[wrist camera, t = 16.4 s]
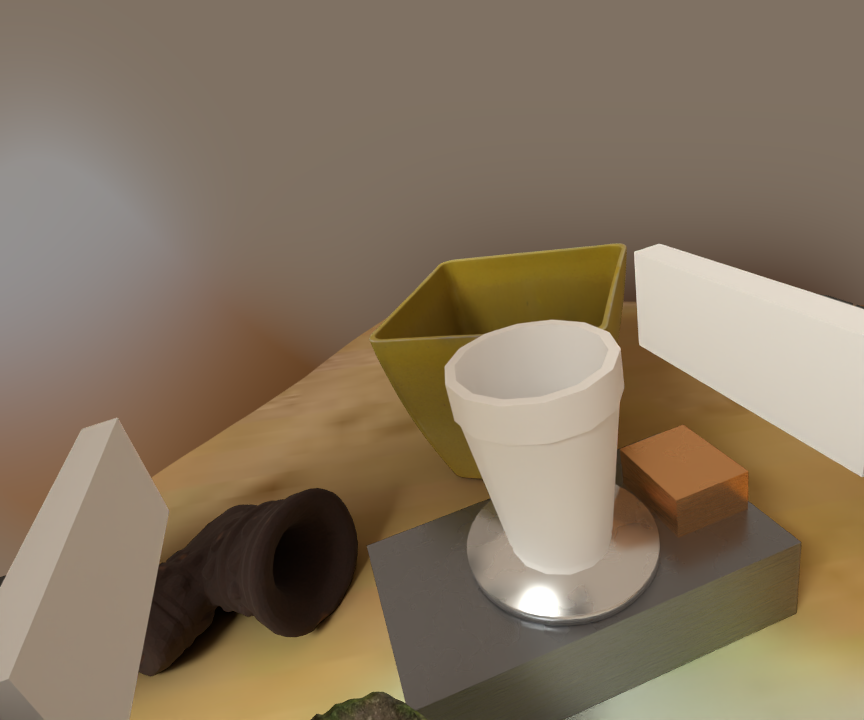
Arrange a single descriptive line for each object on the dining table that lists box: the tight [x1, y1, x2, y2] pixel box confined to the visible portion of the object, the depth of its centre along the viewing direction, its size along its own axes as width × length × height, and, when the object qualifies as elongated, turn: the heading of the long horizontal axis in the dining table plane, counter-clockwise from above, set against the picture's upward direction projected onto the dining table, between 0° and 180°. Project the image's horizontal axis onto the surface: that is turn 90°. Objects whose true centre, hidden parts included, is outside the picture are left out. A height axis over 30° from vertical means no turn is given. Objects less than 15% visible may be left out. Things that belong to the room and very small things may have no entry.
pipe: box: [138, 488, 358, 676], centre depth 45 cm, size 10×15×15 cm
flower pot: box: [369, 244, 627, 479], centre depth 54 cm, size 19×19×17 cm
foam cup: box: [445, 320, 624, 575], centre depth 34 cm, size 10×9×13 cm
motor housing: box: [367, 425, 801, 720], centre depth 37 cm, size 24×13×9 cm, turn 106°
